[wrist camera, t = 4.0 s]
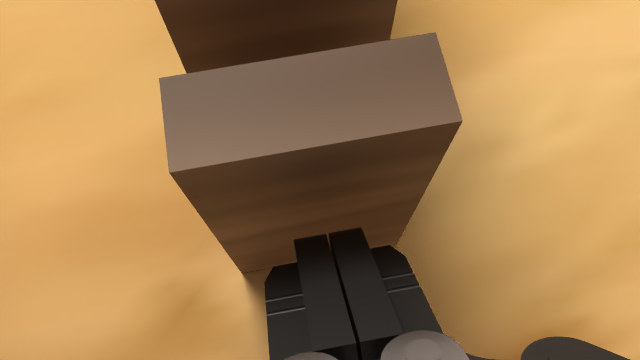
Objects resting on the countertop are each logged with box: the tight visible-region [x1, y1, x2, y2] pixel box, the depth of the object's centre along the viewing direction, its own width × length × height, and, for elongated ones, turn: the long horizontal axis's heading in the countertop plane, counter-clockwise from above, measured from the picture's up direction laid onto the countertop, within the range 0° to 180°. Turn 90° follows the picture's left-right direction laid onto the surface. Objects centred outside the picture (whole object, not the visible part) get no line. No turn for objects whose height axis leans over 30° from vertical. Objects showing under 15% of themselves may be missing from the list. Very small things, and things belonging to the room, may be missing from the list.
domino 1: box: [155, 0, 397, 74], centre depth 15 cm, size 2×5×9 cm, turn 101°
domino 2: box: [159, 32, 462, 273], centre depth 14 cm, size 2×5×9 cm, turn 101°
